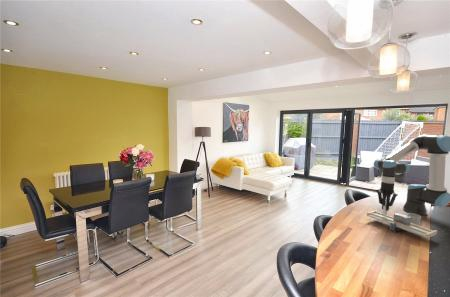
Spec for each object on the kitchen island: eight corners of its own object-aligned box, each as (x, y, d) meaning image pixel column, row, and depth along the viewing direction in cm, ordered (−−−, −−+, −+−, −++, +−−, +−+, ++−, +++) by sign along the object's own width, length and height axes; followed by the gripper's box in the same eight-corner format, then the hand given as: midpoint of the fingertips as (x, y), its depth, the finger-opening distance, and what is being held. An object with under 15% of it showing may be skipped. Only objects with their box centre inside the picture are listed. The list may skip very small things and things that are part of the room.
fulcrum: (401, 226, 158) (402, 218, 157) (406, 228, 155) (407, 220, 154) (389, 230, 151) (390, 222, 150) (394, 232, 148) (395, 224, 148)
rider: (396, 220, 155) (397, 212, 155) (409, 225, 148) (410, 217, 148) (393, 221, 154) (394, 213, 153) (406, 226, 147) (407, 218, 146)
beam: (376, 212, 171) (376, 210, 171) (436, 234, 139) (437, 230, 139) (366, 215, 166) (366, 212, 165) (427, 238, 134) (428, 234, 134)
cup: (417, 230, 152) (419, 218, 151) (400, 225, 160) (401, 213, 159) (421, 228, 156) (422, 215, 155) (403, 222, 164) (404, 211, 163)
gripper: (374, 180, 162) (372, 212, 164) (395, 185, 150) (392, 218, 153) (380, 179, 165) (378, 210, 168) (401, 183, 154) (397, 216, 156)
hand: (384, 214), depth 160 cm, fingers closed
